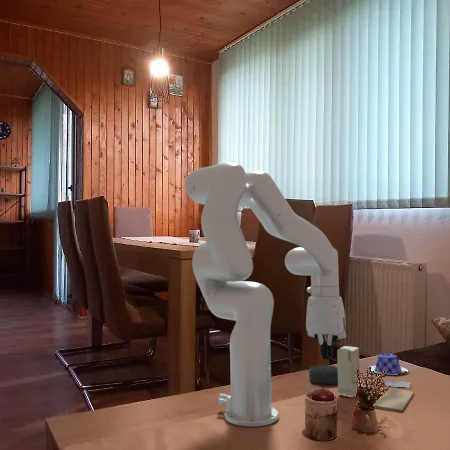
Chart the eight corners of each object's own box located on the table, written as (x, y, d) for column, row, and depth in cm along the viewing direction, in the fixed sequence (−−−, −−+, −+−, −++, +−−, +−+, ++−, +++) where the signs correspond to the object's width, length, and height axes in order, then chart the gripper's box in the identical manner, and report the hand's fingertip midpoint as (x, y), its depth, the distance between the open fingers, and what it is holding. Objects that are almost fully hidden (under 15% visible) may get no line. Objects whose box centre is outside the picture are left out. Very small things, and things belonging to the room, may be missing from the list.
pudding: (389, 379, 142) (388, 361, 142) (360, 370, 152) (359, 353, 153) (416, 373, 148) (416, 356, 148) (387, 365, 158) (386, 349, 158)
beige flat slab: (356, 405, 118) (356, 402, 118) (371, 388, 132) (371, 386, 132) (402, 412, 113) (402, 409, 113) (413, 393, 126) (413, 391, 126)
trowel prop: (350, 383, 137) (350, 377, 137) (352, 379, 141) (352, 373, 141) (410, 388, 131) (410, 382, 131) (410, 383, 136) (410, 377, 136)
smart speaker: (303, 380, 141) (302, 367, 141) (324, 376, 146) (324, 362, 146) (324, 387, 134) (324, 373, 134) (346, 382, 139) (346, 368, 139)
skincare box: (353, 398, 123) (352, 351, 124) (337, 396, 126) (336, 349, 126) (361, 392, 129) (359, 346, 129) (345, 389, 131) (344, 345, 132)
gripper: (294, 292, 132) (296, 358, 131) (347, 294, 124) (350, 364, 124) (304, 290, 139) (306, 353, 138) (355, 291, 131) (358, 358, 130)
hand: (327, 358), depth 131 cm, fingers closed
